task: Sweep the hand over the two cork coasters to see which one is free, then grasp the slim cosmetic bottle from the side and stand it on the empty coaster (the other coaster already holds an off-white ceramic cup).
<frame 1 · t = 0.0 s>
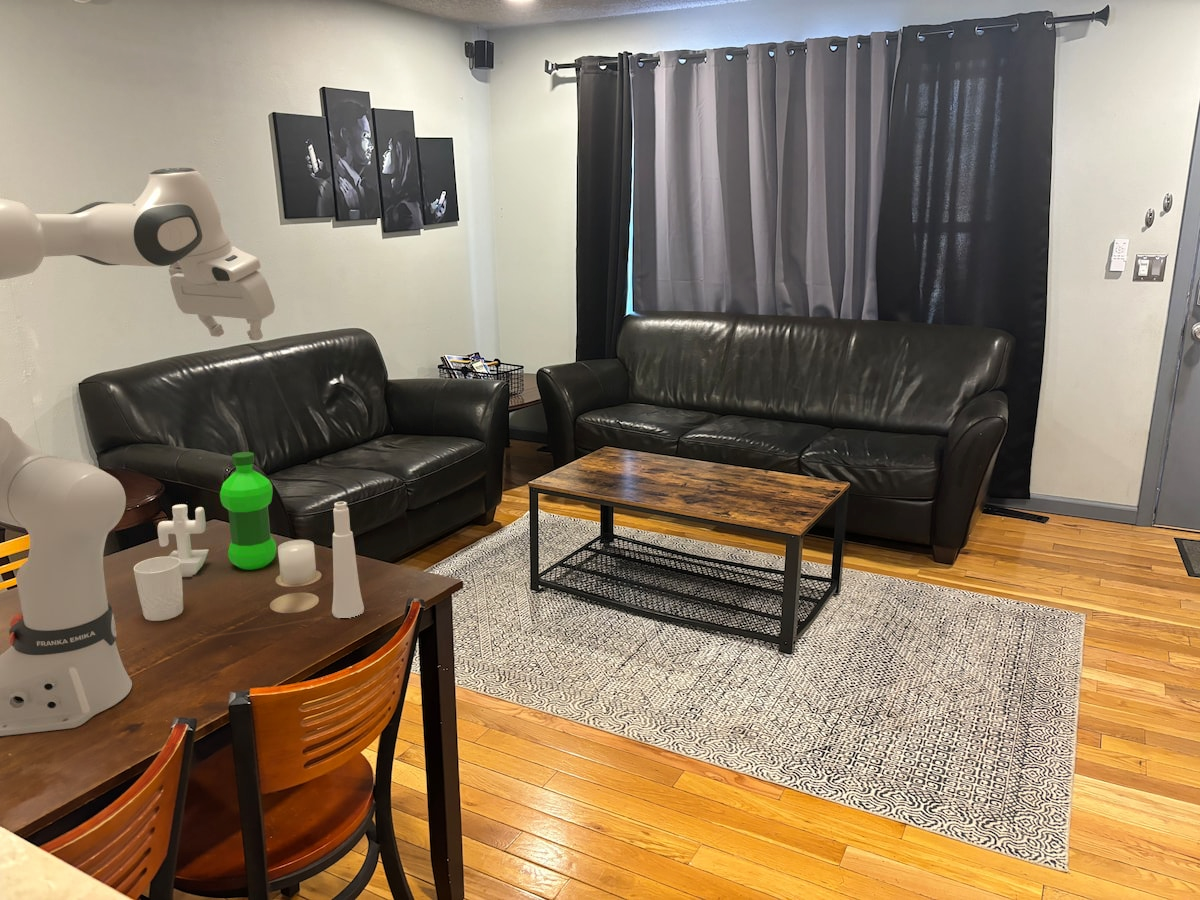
hand: (237, 337, 153), 52 cm above the table, tool tilted 20°, fingers open, 8 cm apart
cup: (298, 577, 178), point 1 cm above the table, touching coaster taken
cosmetic bottle: (348, 613, 164), on the table
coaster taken: (298, 580, 178), on the table
coaster free: (294, 605, 167), on the table
white cup: (163, 614, 163), on the table
figurine: (187, 573, 181), on the table
plastic bottle: (254, 567, 185), on the table
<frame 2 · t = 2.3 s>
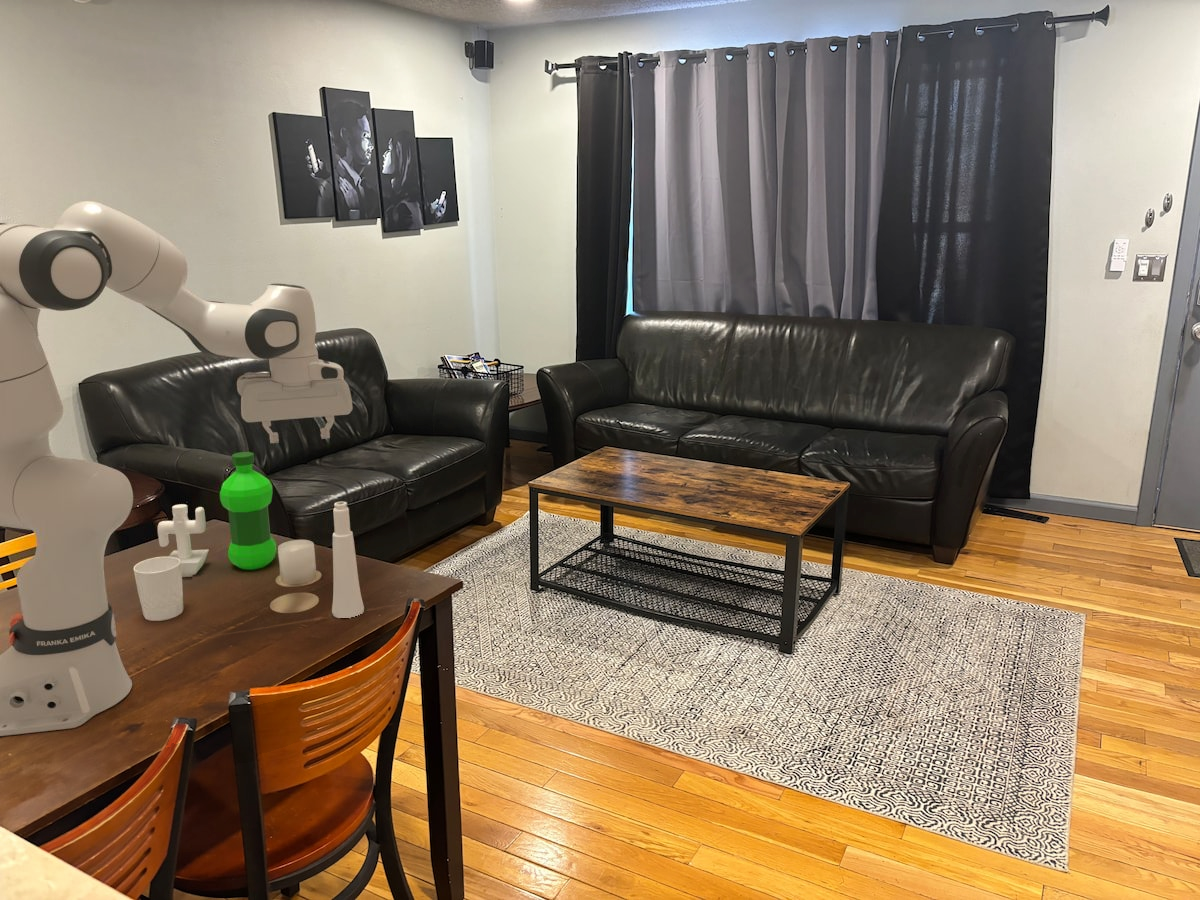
hand: (300, 440, 167), 31 cm above the table, tool pointing down, fingers open, 8 cm apart
nothing on the table moved.
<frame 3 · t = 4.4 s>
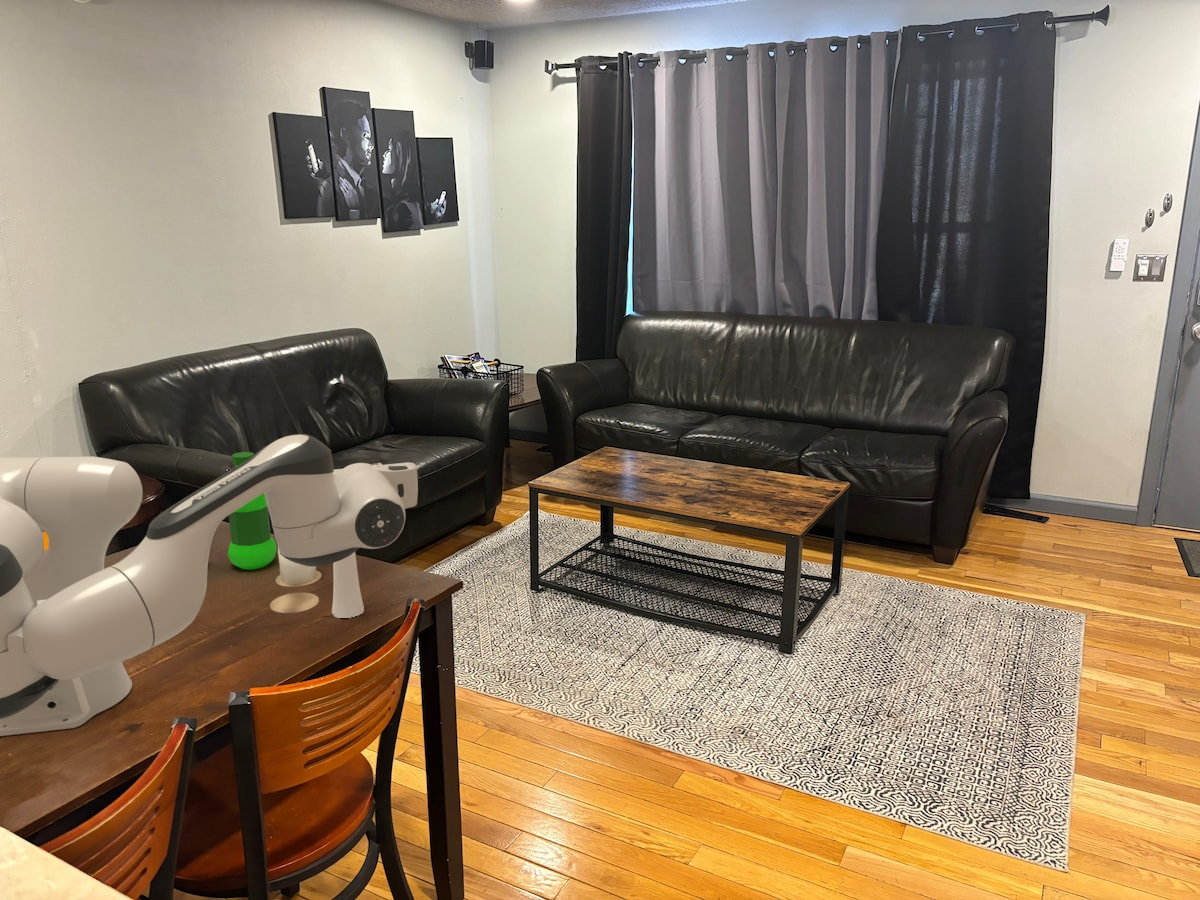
hand: (347, 470, 145), 32 cm above the table, tool horizontal, fingers open, 8 cm apart
nothing on the table moved.
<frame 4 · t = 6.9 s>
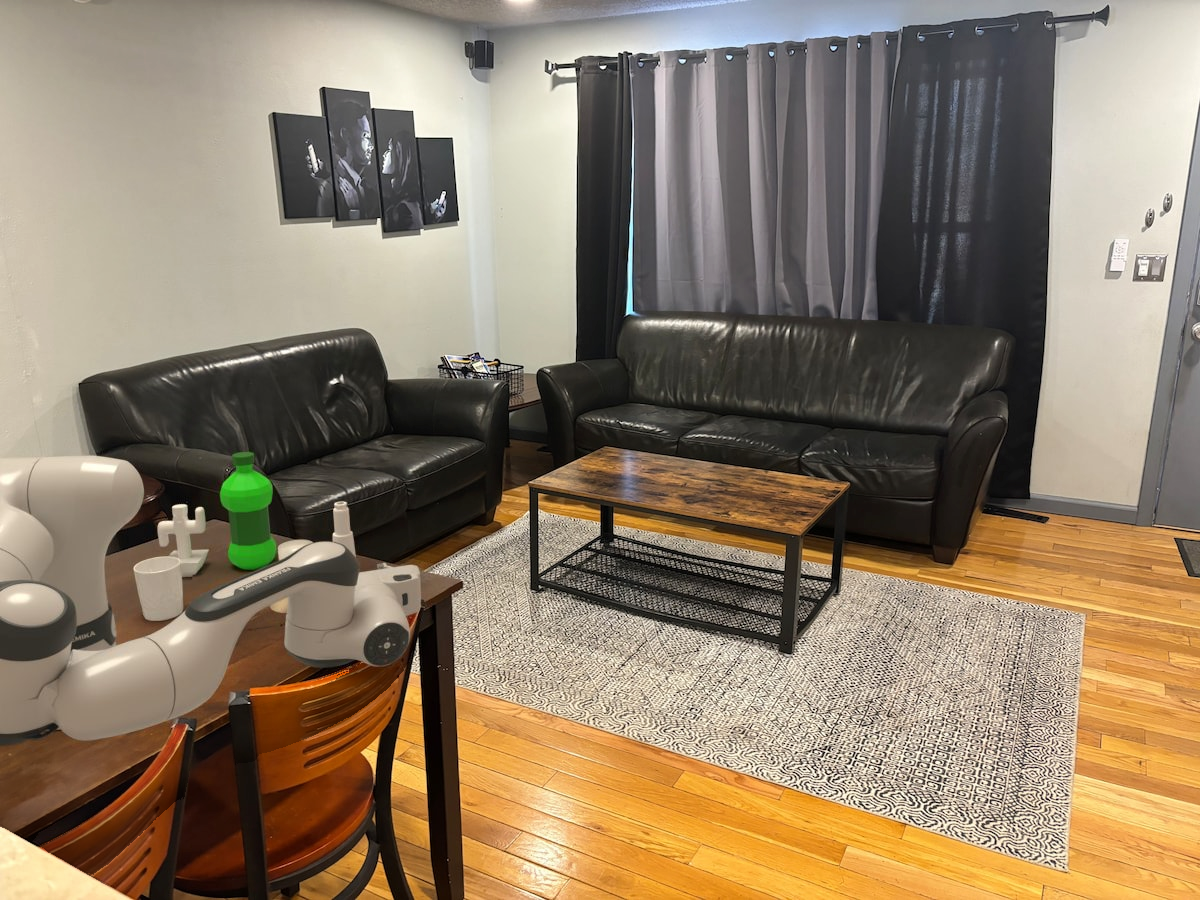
hand: (354, 571, 154), 12 cm above the table, tool horizontal, fingers open, 8 cm apart
nothing on the table moved.
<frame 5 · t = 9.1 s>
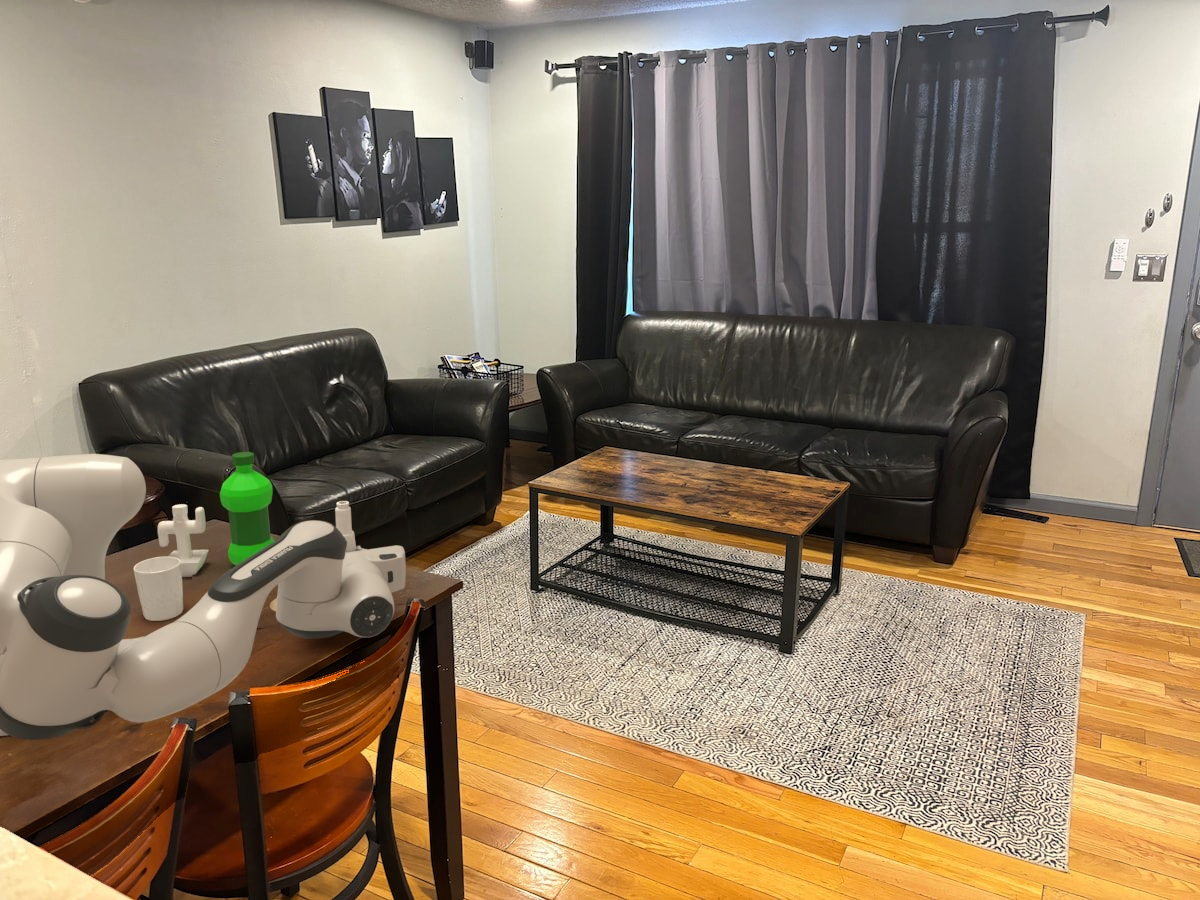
hand: (343, 551, 162), 12 cm above the table, tool horizontal, fingers closed on cosmetic bottle, 3 cm apart
cosmetic bottle: (348, 612, 164), on the table, touching gripper
everything else where it was.
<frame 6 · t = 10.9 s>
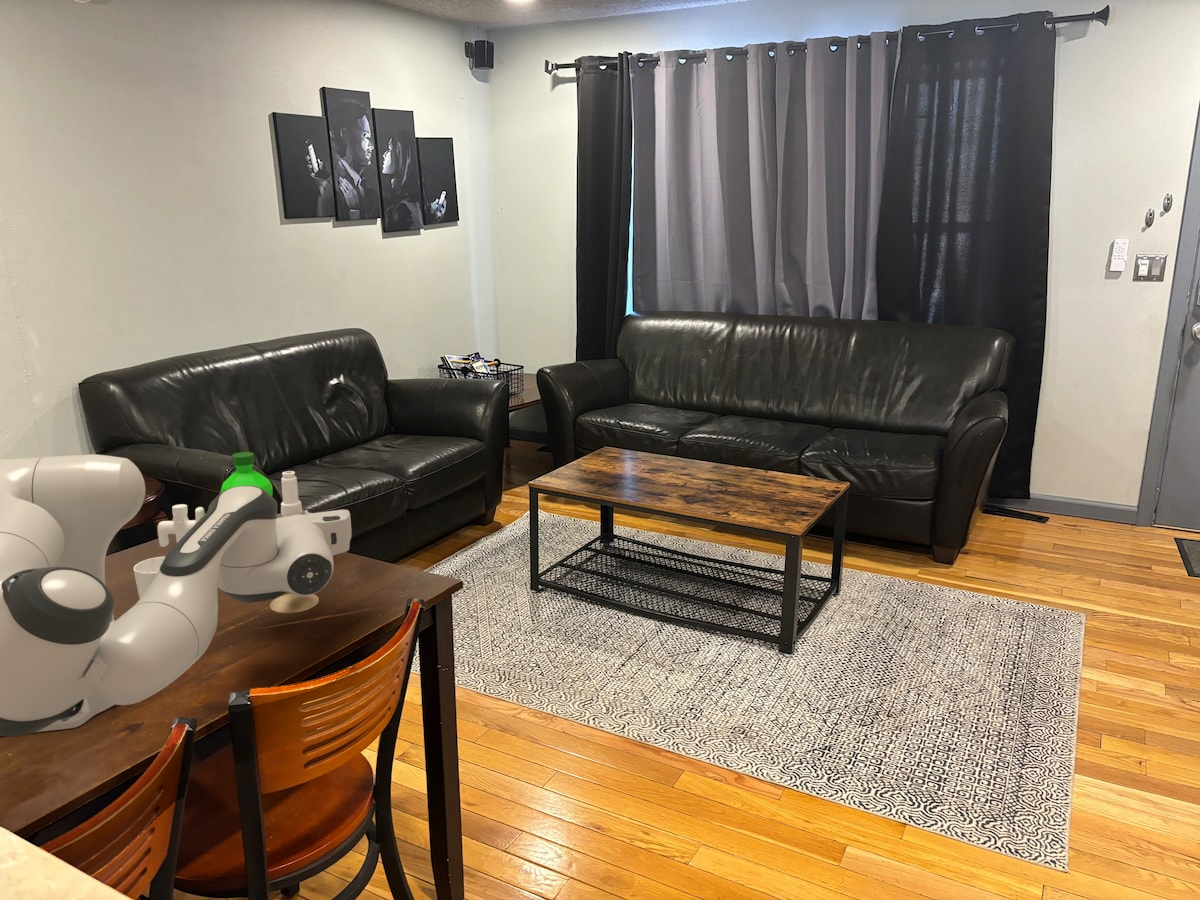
hand: (290, 516, 163), 18 cm above the table, tool horizontal, fingers closed on cosmetic bottle, 3 cm apart
cosmetic bottle: (297, 583, 165), point 5 cm above the table, touching gripper
everything else where it was.
when the fingers open (14 cm above the table, at t = 12.3 s): cosmetic bottle stays where it is, resting on coaster free.
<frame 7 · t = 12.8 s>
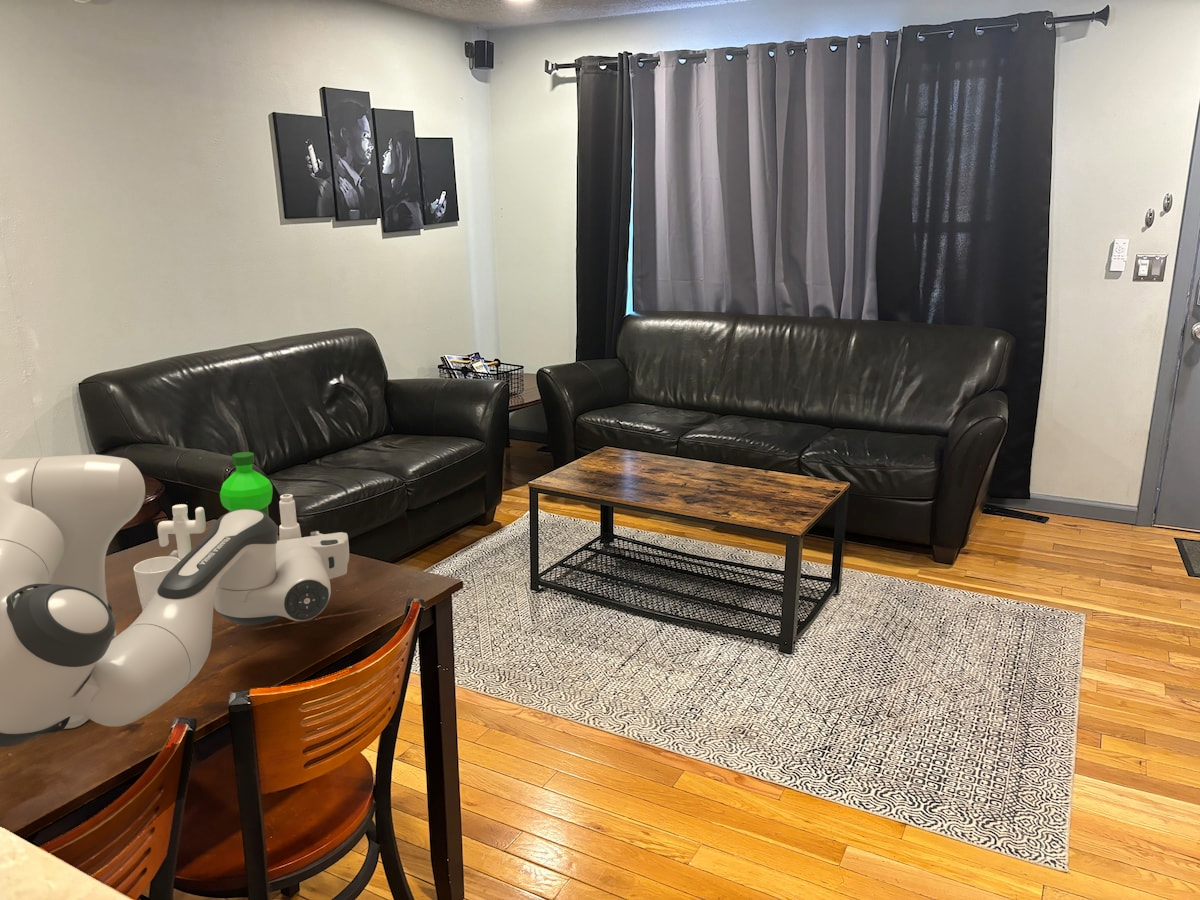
hand: (288, 538, 164), 14 cm above the table, tool horizontal, fingers open, 8 cm apart
cosmetic bottle: (297, 603, 166), resting on coaster free
everything else where it was.
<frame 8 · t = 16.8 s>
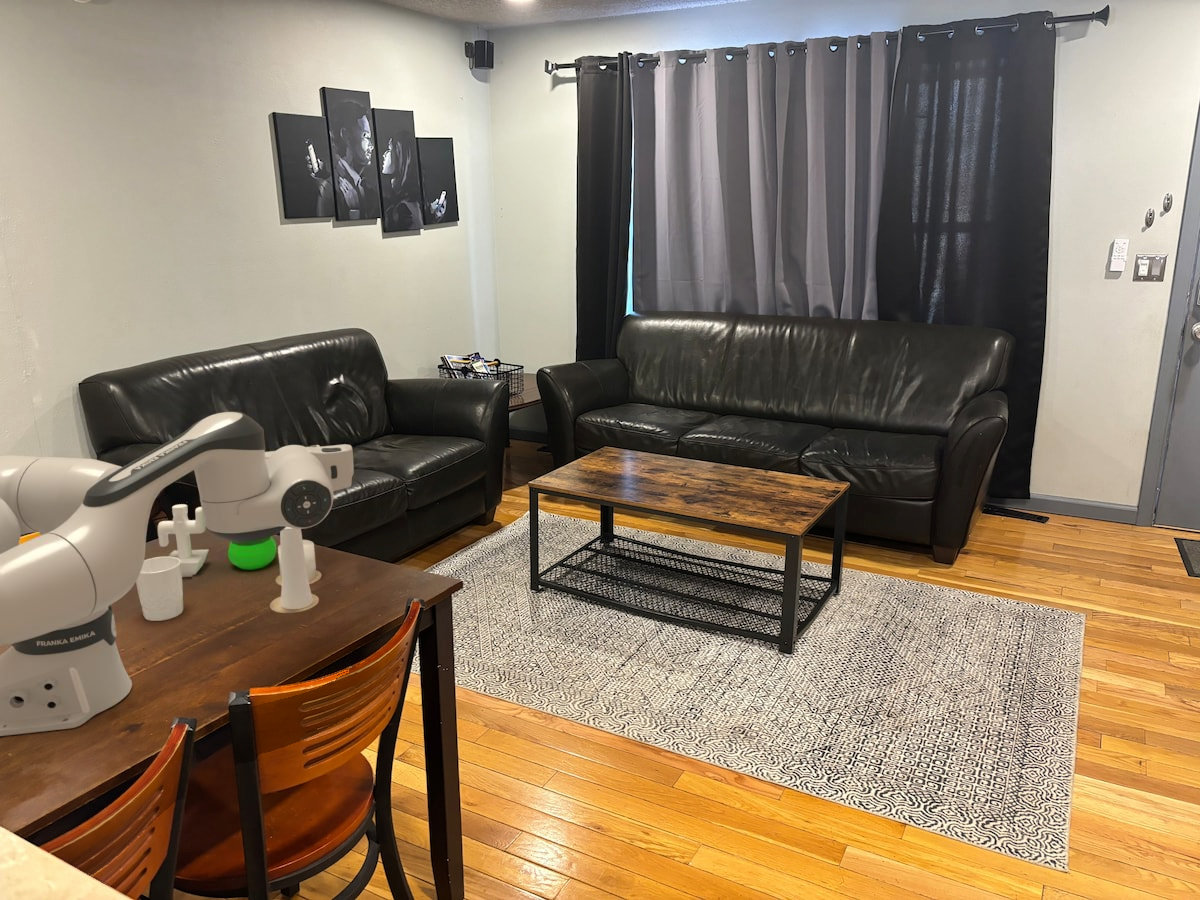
hand: (286, 452, 147), 34 cm above the table, tool horizontal, fingers open, 8 cm apart
nothing on the table moved.
at the end: cosmetic bottle 0.7 cm from the coaster free (horizontally); cosmetic bottle tilted 0°; the gripper is holding nothing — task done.
